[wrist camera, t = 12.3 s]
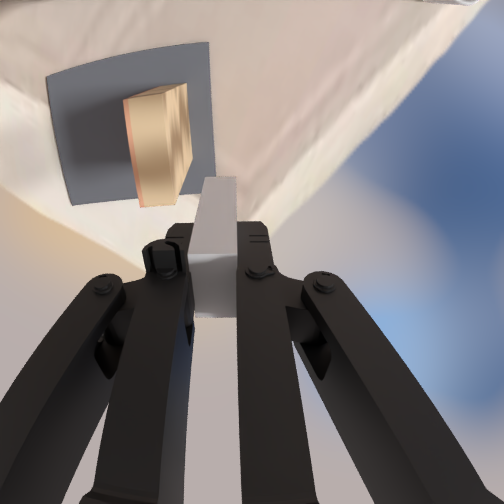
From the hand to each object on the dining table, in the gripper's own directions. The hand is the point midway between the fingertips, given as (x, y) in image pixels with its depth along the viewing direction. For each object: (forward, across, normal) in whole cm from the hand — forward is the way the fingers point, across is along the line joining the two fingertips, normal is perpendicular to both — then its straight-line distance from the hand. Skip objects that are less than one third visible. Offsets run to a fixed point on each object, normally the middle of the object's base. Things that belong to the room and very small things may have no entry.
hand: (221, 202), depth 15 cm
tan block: (+20, -6, +1) cm, 21 cm away
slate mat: (+21, -12, 0) cm, 24 cm away
